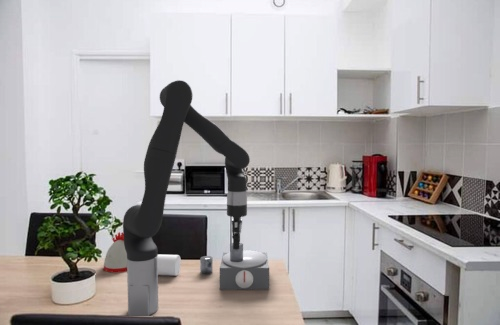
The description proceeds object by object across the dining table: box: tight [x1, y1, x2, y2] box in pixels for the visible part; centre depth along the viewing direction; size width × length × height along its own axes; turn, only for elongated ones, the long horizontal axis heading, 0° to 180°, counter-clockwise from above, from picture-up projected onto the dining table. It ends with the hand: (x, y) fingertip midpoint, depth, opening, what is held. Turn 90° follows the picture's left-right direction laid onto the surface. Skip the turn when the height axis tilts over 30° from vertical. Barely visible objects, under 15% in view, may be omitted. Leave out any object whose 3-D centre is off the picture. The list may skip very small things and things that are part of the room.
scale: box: [219, 249, 270, 291], centre depth 126 cm, size 18×18×9 cm
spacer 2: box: [229, 242, 244, 262], centre depth 123 cm, size 5×5×6 cm
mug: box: [158, 254, 182, 277], centre depth 135 cm, size 12×10×8 cm
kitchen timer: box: [103, 231, 127, 273], centre depth 142 cm, size 14×14×15 cm
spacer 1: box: [199, 255, 214, 276], centre depth 135 cm, size 5×5×6 cm
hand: (236, 245), depth 123 cm, fingers open, 8 cm apart
